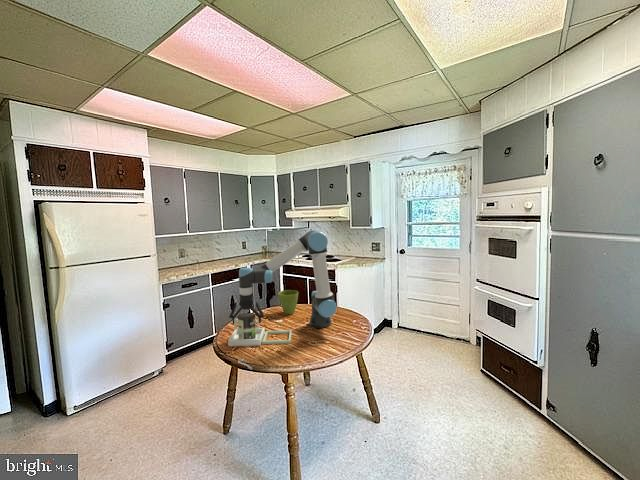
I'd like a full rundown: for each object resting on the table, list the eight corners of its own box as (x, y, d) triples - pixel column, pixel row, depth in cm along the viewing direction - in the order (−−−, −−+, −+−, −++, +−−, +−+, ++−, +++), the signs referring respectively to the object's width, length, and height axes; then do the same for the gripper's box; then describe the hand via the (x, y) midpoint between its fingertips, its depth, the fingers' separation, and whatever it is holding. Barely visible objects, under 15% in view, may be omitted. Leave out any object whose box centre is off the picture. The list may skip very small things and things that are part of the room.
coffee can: (258, 335, 183) (257, 313, 182) (251, 342, 173) (250, 319, 172) (243, 334, 185) (242, 312, 184) (235, 341, 175) (234, 318, 174)
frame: (291, 332, 189) (291, 330, 189) (290, 343, 174) (290, 340, 173) (266, 333, 189) (266, 330, 189) (262, 344, 173) (262, 341, 173)
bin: (264, 333, 189) (264, 327, 188) (260, 345, 171) (260, 339, 171) (235, 334, 188) (235, 328, 188) (228, 346, 170) (228, 340, 170)
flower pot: (275, 313, 227) (274, 292, 226) (289, 308, 239) (288, 289, 237) (288, 317, 218) (288, 296, 216) (302, 312, 229) (302, 292, 228)
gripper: (268, 291, 181) (268, 325, 183) (226, 292, 180) (227, 326, 182) (266, 295, 174) (267, 330, 176) (223, 295, 173) (224, 331, 175)
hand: (247, 328), depth 179 cm, fingers open, 13 cm apart
